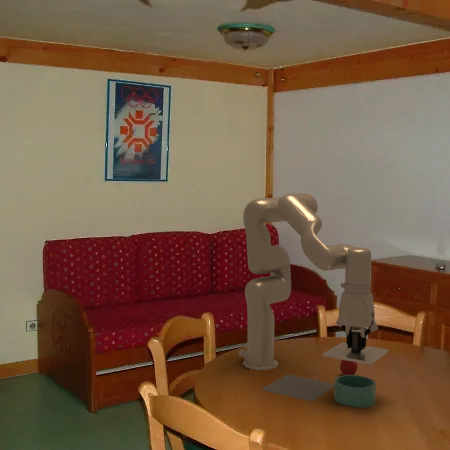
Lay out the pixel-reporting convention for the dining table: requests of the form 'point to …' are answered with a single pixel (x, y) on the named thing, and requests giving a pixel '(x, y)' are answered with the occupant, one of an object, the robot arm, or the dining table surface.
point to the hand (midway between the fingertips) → (356, 347)
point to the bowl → (355, 391)
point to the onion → (348, 367)
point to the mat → (299, 387)
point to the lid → (355, 351)
